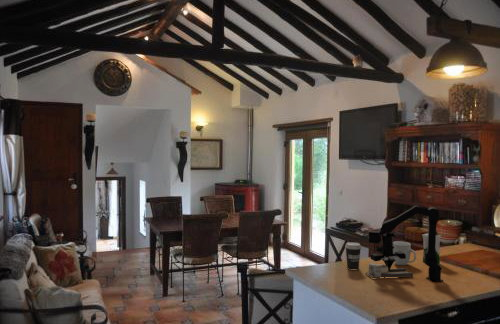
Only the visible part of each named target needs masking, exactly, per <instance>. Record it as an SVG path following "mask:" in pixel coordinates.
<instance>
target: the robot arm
mask: <svg viewBox="0 0 500 324" xmlns="http://www.w3.org/2000/svg"><path fill="white" fill-rule="evenodd" d="M418 214H419V215H421V216H425V217H426V218H427V222H428V226H427V229H428V230H427V233H428V245H427V251H424V250H423V251H424V257H422V260H423V259H424V261H425V262H426V263H425V265H426V266H427V267H428V275H427V277H425V279H426V280H427V281H430V282H431V283H441V282H442V283H443V282H444V279H441V278H442V275H441V274H442V273H441V271H442V269H443V268H442V266H441V263H440V264H439V263H438V262H437V257H436V252H435V244H436V231H437V225H438V222H439V218H440V211H439V210H438V209H437V208H436V207H434V206H430V207H427V206H426V207H425V206H419V205H413V206H412V207H410V208H409V209H407V210H405V211H404V212H402V213H401V214H399V215H398V216H396V217H394V218H390V219H387V220H385V221H383V222H382V223H381V227H380V229H379V230H378V231H368V244H375V245H376V244H378V245H376V246H374V251H375V253H371V254H370V260H371V261H374V262H381V260H382V262H383V263H384V265H385V266H387V267H388V271H389V270H390V269H392V266H393V264H394V263H395V262H394V261H396V260H395V257H399V258H400V259H406V255H405V253H403V252H401V251H398V252H395V253H393V248H394V246H393V242H394V238H396V237H397V234H396V233H395V232H394V231H393V230H395V229H396V228H397V227H398V226H399V225H400V224H402V223H404V222H406V221H407V220H409V219H410V218H412V217H414V216H415V215H418ZM379 243H381V246H379Z"/></svg>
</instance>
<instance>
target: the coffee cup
mask: <svg viewBox="0 0 500 324" xmlns="http://www.w3.org/2000/svg"><path fill="white" fill-rule="evenodd" d="M344 248H345V256H346V267H347V268H346V269H348V268H349V269H358V270H359V268H360V260H361V259H360V258H361V249H362V246H361V243H359V242H352V241H351V242H350V241H349V242H346V243H345V245H344ZM349 269H348V270H349Z"/></svg>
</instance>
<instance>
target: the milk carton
mask: <svg viewBox="0 0 500 324" xmlns="http://www.w3.org/2000/svg"><path fill="white" fill-rule="evenodd" d="M421 235H422V239H423V253H422V256H423V257H424V251H427V245H428V232H427V233H424V234H421ZM441 237H442V235H440V234H438V231H437V230H436V244H435V252H436V257H437V262H438V263H439V264H440V265H441V261H440V259H441V257H440V252H441V251H440V245H441V243H440V242H441ZM423 257H422V263H424V264H426V262H425V261H424V259H423Z"/></svg>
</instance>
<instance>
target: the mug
mask: <svg viewBox="0 0 500 324" xmlns="http://www.w3.org/2000/svg"><path fill="white" fill-rule="evenodd" d="M393 246H394V248H393V253H395V252H398V251H401V252H403V253H405V255H406V259H400V258H399V257H395V260H396V261H394V263H395V265H397V266H407V265H408V264H411V263H414V262H415V261H416V260H417V253H416V251H415V250H414V249H412V248H411V246H412V244H411V243H410V242H406V241H401V240H400V241H399V240H398V241H397V240H396V241H393ZM411 252H412V254H413V255H414V256H413V257H414V258H413V260H410V259H411Z"/></svg>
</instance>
